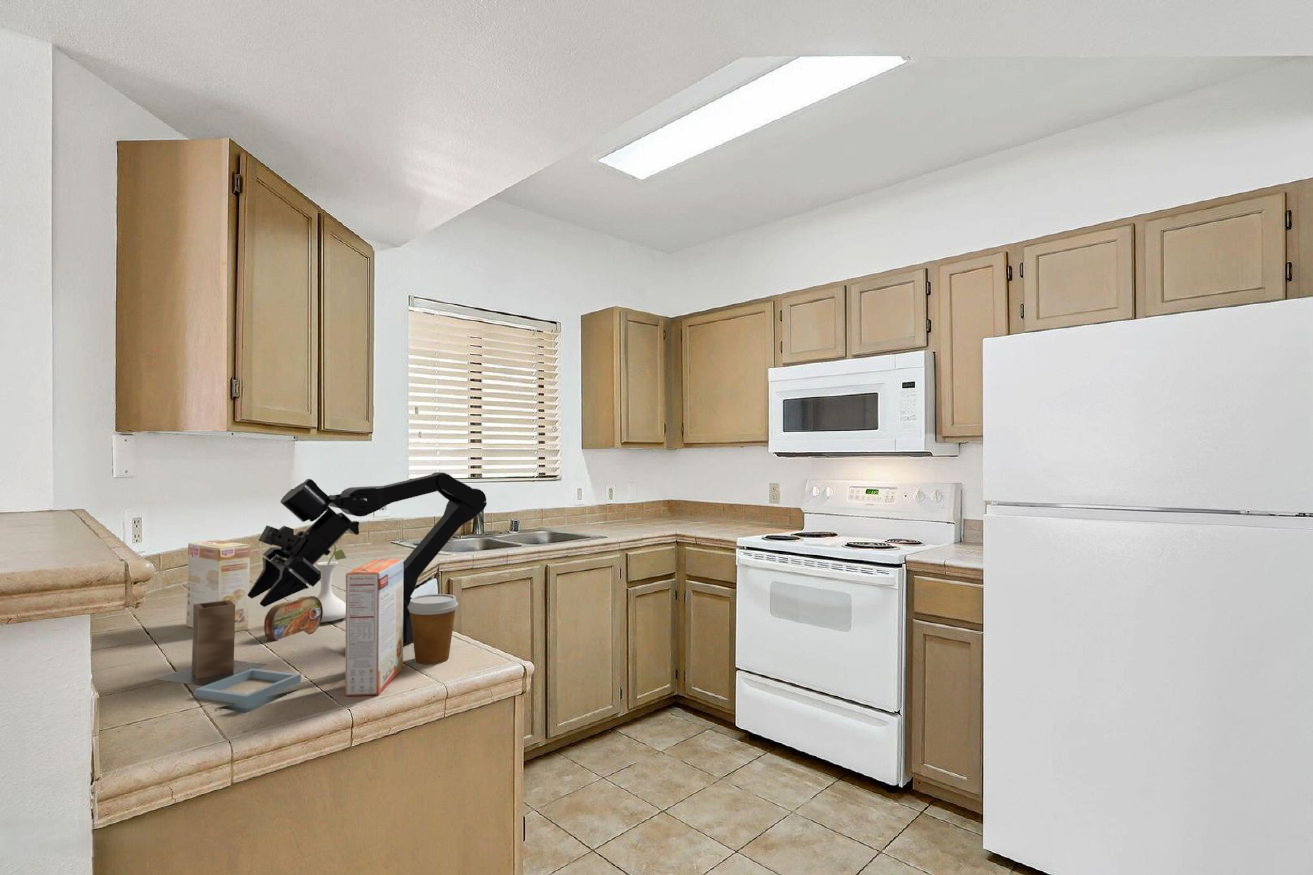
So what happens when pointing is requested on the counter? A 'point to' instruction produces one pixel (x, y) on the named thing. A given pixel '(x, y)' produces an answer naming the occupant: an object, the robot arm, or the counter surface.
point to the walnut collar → (213, 638)
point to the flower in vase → (329, 601)
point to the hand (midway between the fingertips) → (255, 601)
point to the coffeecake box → (219, 577)
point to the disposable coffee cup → (432, 626)
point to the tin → (293, 617)
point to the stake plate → (189, 678)
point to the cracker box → (373, 626)
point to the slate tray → (254, 698)
